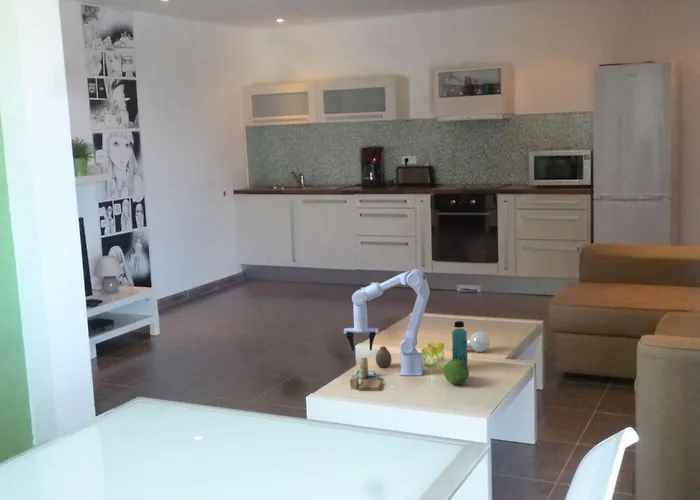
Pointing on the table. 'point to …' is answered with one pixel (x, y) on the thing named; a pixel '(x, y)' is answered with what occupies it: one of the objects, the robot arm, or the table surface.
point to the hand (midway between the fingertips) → (361, 349)
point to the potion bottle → (478, 342)
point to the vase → (383, 358)
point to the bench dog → (354, 382)
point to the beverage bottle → (459, 342)
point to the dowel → (363, 366)
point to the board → (370, 385)
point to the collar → (370, 377)
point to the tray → (370, 372)
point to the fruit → (456, 371)
